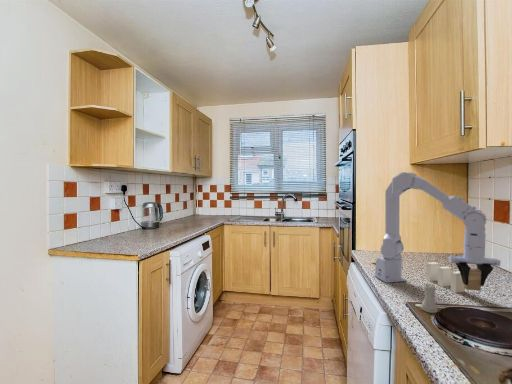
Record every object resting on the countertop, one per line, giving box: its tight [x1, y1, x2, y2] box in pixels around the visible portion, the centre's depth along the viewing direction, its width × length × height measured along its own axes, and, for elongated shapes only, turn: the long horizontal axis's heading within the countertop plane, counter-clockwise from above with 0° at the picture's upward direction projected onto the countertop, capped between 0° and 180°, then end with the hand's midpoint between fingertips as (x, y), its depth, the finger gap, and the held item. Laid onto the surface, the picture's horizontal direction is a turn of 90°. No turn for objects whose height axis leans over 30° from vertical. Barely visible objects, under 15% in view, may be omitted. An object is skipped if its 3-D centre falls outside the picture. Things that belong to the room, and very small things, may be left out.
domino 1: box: [425, 261, 440, 282], centre depth 110 cm, size 2×4×7 cm, turn 102°
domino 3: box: [450, 270, 466, 294], centre depth 99 cm, size 2×4×7 cm, turn 102°
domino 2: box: [437, 265, 452, 288], centre depth 104 cm, size 2×4×7 cm, turn 102°
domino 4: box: [464, 267, 482, 292], centre depth 94 cm, size 2×4×7 cm, turn 77°
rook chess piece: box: [420, 283, 439, 314], centre depth 84 cm, size 4×4×8 cm
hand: (472, 284), depth 93 cm, fingers closed on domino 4, 4 cm apart
